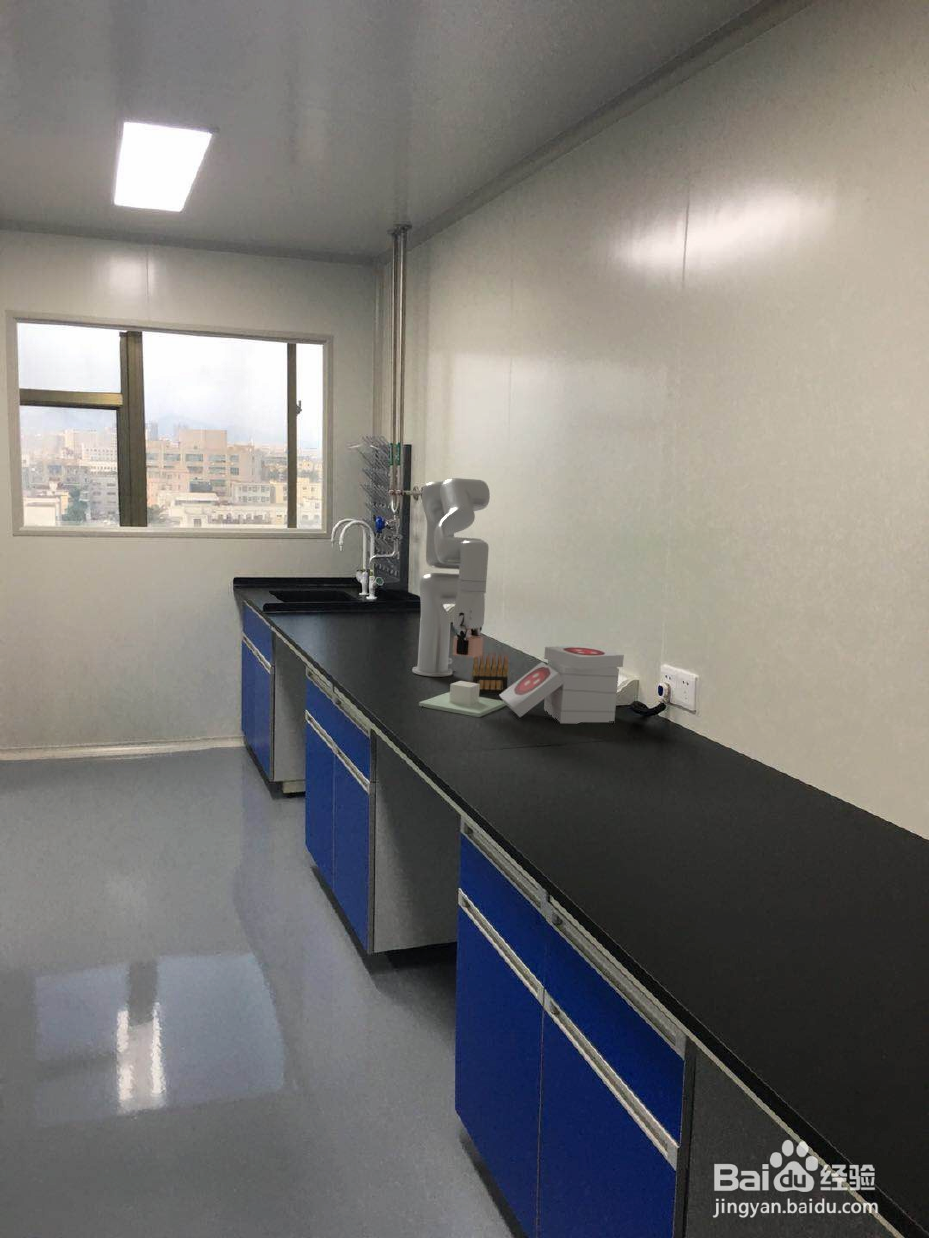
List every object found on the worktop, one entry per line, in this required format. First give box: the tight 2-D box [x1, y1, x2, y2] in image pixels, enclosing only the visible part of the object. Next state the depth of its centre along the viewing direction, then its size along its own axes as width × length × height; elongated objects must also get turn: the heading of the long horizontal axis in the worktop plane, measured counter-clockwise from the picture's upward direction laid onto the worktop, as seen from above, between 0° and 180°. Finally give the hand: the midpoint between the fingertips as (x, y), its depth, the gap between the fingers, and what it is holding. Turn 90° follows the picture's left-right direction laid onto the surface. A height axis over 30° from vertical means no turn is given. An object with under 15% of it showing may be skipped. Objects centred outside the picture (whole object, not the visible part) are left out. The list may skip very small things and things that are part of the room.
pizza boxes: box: [498, 644, 625, 724], centre depth 262 cm, size 19×30×18 cm, turn 102°
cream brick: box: [449, 680, 480, 706], centre depth 268 cm, size 6×6×5 cm
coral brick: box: [452, 634, 484, 659], centre depth 266 cm, size 6×6×5 cm
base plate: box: [418, 691, 508, 718], centre depth 269 cm, size 18×18×1 cm
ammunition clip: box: [470, 652, 509, 694], centre depth 287 cm, size 11×2×12 cm, turn 101°
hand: (467, 652), depth 266 cm, fingers closed on coral brick, 5 cm apart
